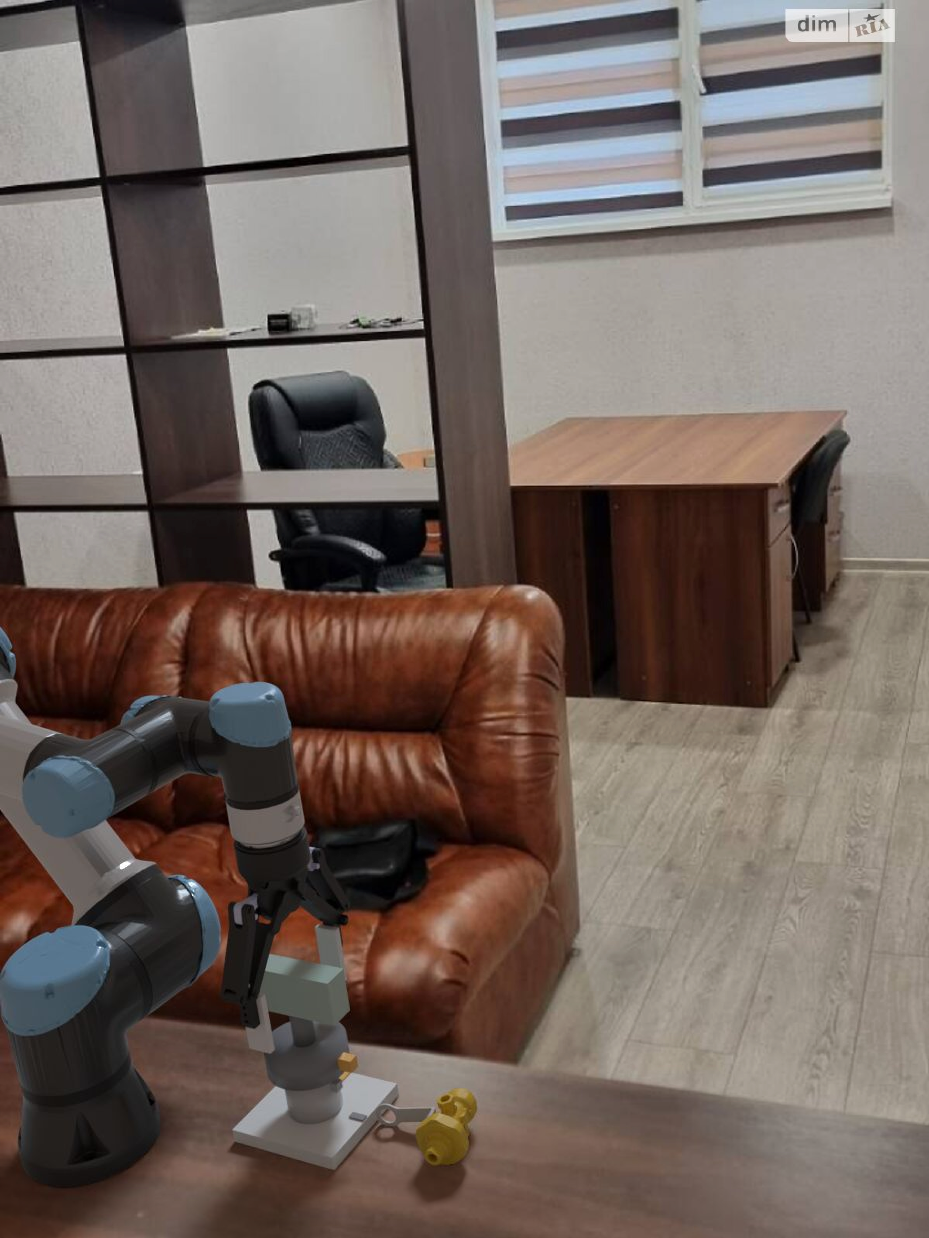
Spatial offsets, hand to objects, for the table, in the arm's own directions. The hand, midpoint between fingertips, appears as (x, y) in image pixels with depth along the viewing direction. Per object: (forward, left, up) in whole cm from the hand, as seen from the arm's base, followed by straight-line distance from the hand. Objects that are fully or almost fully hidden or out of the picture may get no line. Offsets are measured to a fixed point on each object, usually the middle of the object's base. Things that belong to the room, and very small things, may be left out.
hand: (300, 1013), depth 145 cm
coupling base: (0, 0, -13) cm, 13 cm away
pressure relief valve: (+13, 0, -14) cm, 19 cm away
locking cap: (0, 0, -6) cm, 6 cm away
